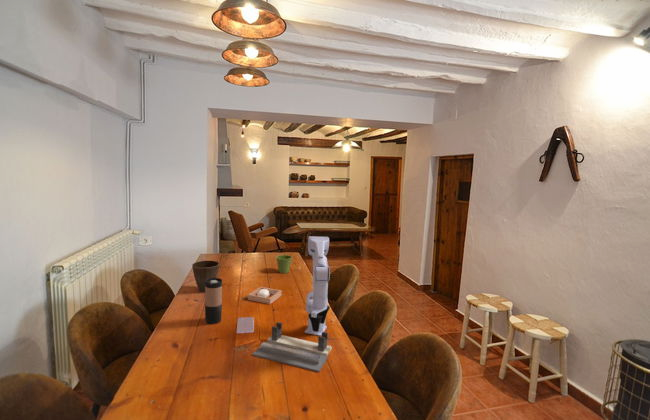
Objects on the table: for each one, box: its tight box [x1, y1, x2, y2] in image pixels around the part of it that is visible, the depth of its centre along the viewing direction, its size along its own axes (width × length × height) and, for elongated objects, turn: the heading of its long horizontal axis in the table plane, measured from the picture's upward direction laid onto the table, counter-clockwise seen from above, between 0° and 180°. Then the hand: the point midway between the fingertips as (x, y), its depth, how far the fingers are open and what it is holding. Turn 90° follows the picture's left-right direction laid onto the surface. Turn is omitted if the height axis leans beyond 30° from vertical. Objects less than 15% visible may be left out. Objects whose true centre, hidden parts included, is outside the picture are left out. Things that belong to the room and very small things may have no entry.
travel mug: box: [204, 277, 223, 325], centre depth 153 cm, size 8×8×20 cm
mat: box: [251, 341, 328, 373], centre depth 128 cm, size 10×28×1 cm, turn 72°
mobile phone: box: [236, 316, 255, 334], centre depth 152 cm, size 8×1×15 cm
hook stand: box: [266, 321, 333, 357], centre depth 136 cm, size 6×27×7 cm, turn 72°
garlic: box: [257, 289, 271, 298], centre depth 188 cm, size 8×7×4 cm
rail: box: [260, 341, 321, 364], centre depth 128 cm, size 2×25×2 cm, turn 72°
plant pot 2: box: [275, 254, 293, 274], centre depth 234 cm, size 12×12×11 cm
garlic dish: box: [247, 286, 283, 305], centre depth 186 cm, size 14×14×3 cm
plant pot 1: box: [191, 260, 220, 293], centre depth 192 cm, size 15×15×16 cm
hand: (318, 327), depth 134 cm, fingers open, 7 cm apart
